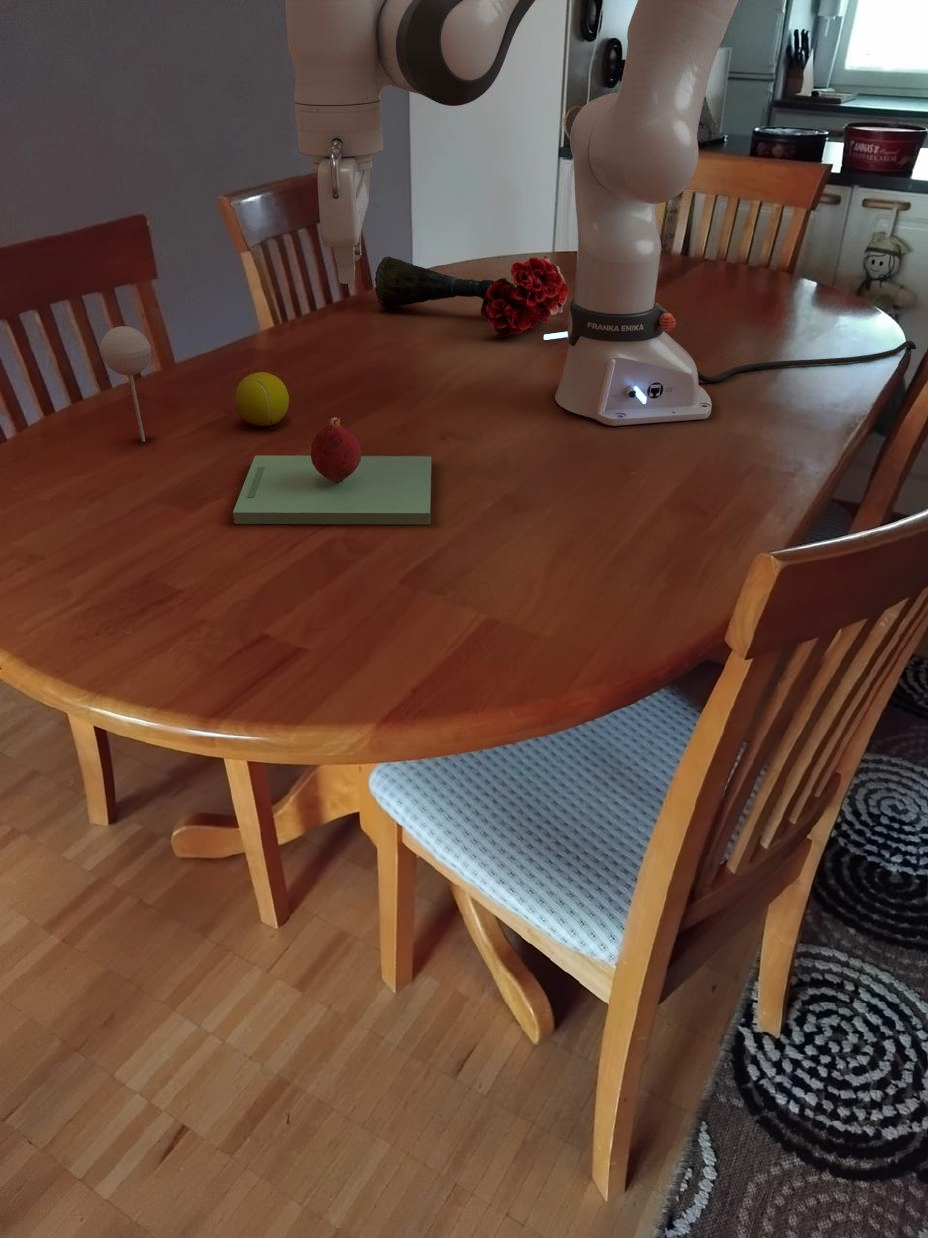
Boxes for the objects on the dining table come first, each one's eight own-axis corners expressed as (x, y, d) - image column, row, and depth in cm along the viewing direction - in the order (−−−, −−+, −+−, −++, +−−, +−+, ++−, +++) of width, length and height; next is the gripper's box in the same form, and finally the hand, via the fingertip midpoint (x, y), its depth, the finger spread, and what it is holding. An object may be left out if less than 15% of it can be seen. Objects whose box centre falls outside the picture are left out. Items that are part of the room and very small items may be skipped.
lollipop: (176, 435, 125) (157, 323, 116) (150, 453, 120) (128, 337, 112) (136, 429, 127) (114, 317, 118) (109, 446, 122) (84, 331, 113)
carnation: (387, 350, 177) (566, 365, 166) (347, 305, 160) (544, 318, 149) (404, 272, 179) (583, 281, 168) (366, 219, 161) (563, 225, 150)
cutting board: (431, 467, 118) (431, 455, 117) (430, 524, 106) (429, 512, 105) (256, 466, 118) (254, 454, 117) (234, 524, 105) (232, 511, 104)
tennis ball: (274, 437, 125) (269, 386, 121) (229, 429, 127) (222, 379, 123) (299, 418, 130) (295, 369, 126) (255, 410, 132) (250, 362, 128)
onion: (354, 495, 108) (350, 430, 104) (306, 490, 109) (300, 425, 104) (368, 474, 113) (365, 411, 108) (322, 469, 114) (317, 406, 109)
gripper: (364, 147, 89) (374, 296, 97) (375, 118, 105) (382, 247, 113) (297, 149, 88) (312, 297, 96) (319, 119, 105) (330, 248, 113)
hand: (350, 270), depth 105 cm, fingers open, 8 cm apart
